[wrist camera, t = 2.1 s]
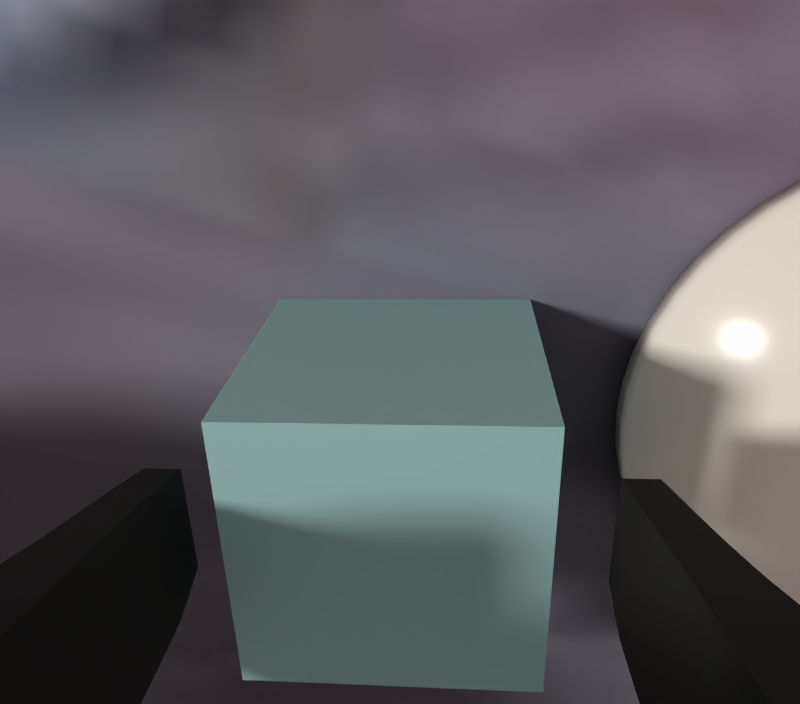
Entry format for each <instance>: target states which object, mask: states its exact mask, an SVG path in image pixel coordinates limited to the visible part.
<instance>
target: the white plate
mask: <svg viewBox="0 0 800 704" xmlns="http://www.w3.org/2000/svg"><path fill="white" fill-rule="evenodd" d="M615 444H616V452H617V460H618V469H619V473H620V476H621V478H628V479H661V480H662V481H663V482H664V483H666V484H667V485H668V486H669V487H670V488H671V489H672V490H673V491H674V492H675V493H676V494H677V495H678V496H679V497H680V498H681V499H682V500H683V501H684V502H685V503H686V504H687V505H688V506H689V507H690V508H691V509H692V510H693V511H694V512H695V513H697V514H698V515H699V516H700V517H701V518H702V519H703V520H704V521H705V522H706V523H707V524H708V525H709V526H710V527H711V528H712V529H713V530H714V531H715V532H716V533H717V534H719V535H720V536H721V537H722V538H723V539H724V540H725V541H726V542H727V543H728V544H729V545H730V546H731V547H733V548H734V549H735V550H736V551H737V552H738V553H739V554H740V555H741V556H742V557H744V558H745V559H746V560H747V561H748V562H749V563H750V564H751V565H753V566H754V567H755V568H756V569H757V570H758V571H760V572H761V573H762V574H763V575H764V576H765V577H767V578H768V579H769V580H770V581H771V582H772V583H774V584H775V585H776V586H777V587H779V588H780V589H781V590H782V591H783V592H785V593H786V594H787V595H788V596H790V597H791V598H792V599H793V600H795V601H796V602H797V603H798V604H799V605H800V181H798V182H796V183H795V184H793V185H791V186H790V187H788V188H786V189H784V190H783V191H781V192H779V193H778V194H776V195H774V196H772V197H771V198H769V199H767V200H766V201H764V202H762V203H761V204H759V205H758V206H757V207H755V208H754V209H753V210H751V211H750V212H748V213H747V214H746V215H744V216H743V217H742V218H740V219H739V220H738V221H736V222H735V223H734V224H732V225H731V226H730V227H728V228H727V229H726V230H725V231H724V232H722V233H721V234H720V235H719V236H718V237H717V238H716V239H715V240H714V241H713V242H712V243H711V244H709V245H708V246H707V247H706V248H705V249H704V250H703V251H702V252H701V253H700V254H699V255H698V256H697V257H695V259H694V260H693V261H692V262H691V263H690V264H689V266H688V267H687V268H686V269H685V270H684V271H683V273H682V274H681V275H680V276H679V277H678V278H677V280H676V281H675V282H674V283H673V284H672V285H671V287H670V288H669V289H668V291H667V292H666V294H665V295H664V297H663V298H662V300H661V301H660V303H659V304H658V306H657V307H656V309H655V310H654V312H653V313H652V315H651V316H650V318H649V319H648V321H647V323H646V325H645V327H644V329H643V331H642V333H641V335H640V337H639V339H638V341H637V343H636V345H635V347H634V349H633V352H632V355H631V357H630V360H629V363H628V366H627V369H626V372H625V375H624V378H623V381H622V385H621V391H620V396H619V401H618V407H617V412H616V436H615Z"/></svg>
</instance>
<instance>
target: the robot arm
mask: <svg viewBox="0 0 800 704" xmlns="http://www.w3.org/2000/svg"><path fill="white" fill-rule="evenodd" d="M197 568H198V563H197V558H196V552H195V547H194V541H193V536H192V530H191V525H190V519H189V514H188V509H187V503H186V498H185V492H184V487H183V481H182V476H181V470H180V469H143V470H142V471H140V472H138V473H137V474H135V475H133V476H132V477H130V478H129V479H127V480H126V481H124V482H123V483H121V484H120V485H118V486H117V487H115V488H114V489H112V490H111V491H109V492H108V493H106V494H105V495H104V496H102V497H101V498H99V499H98V500H96V501H95V502H93V503H92V504H91V505H89V506H88V507H86V508H85V509H83V510H82V511H80V512H79V513H77V514H76V515H75V516H73V517H72V518H70V519H69V520H67V521H66V522H64V523H63V524H61V525H60V526H58V527H57V528H56V529H54V530H53V531H51V532H50V533H48V534H47V535H45V536H44V537H42V538H41V539H39V540H38V541H36V542H35V543H33V544H31V545H30V546H28V547H27V548H25V549H23V550H22V551H20V552H19V553H17V554H16V555H14V556H12V557H11V558H9V559H8V560H6V561H4V562H3V563H1V564H0V704H141V702H142V700H143V698H144V696H145V694H146V692H147V690H148V688H149V686H150V684H151V682H152V680H153V677H154V675H155V673H156V671H157V669H158V667H159V665H160V663H161V661H162V659H163V657H164V655H165V652H166V650H167V648H168V646H169V644H170V642H171V640H172V638H173V636H174V633H175V631H176V629H177V627H178V625H179V623H180V620H181V617H182V614H183V611H184V608H185V606H186V603H187V600H188V597H189V594H190V590H191V587H192V584H193V581H194V578H195V574H196V571H197ZM609 582H610V588H611V594H612V599H613V605H614V611H615V616H616V622H617V627H618V632H619V637H620V641H621V644H622V648H623V651H624V654H625V658H626V661H627V664H628V667H629V671H630V674H631V677H632V680H633V684H634V687H635V690H636V693H637V696H638V700H639V703H640V704H800V605H799V604H798V603H797V602H796V601H795V600H793V599H792V598H791V597H790V596H788V595H787V594H786V593H785V592H783V591H782V590H781V589H780V588H779V587H777V586H776V585H775V584H774V583H772V582H771V581H770V580H769V579H768V578H767V577H765V576H764V575H763V574H762V573H761V572H760V571H758V570H757V569H756V568H755V567H754V566H753V565H751V564H750V563H749V562H748V561H747V560H746V559H745V558H744V557H742V556H741V555H740V554H739V553H738V552H737V551H736V550H735V549H734V548H733V547H731V546H730V545H729V544H728V543H727V542H726V541H725V540H724V539H723V538H722V537H721V536H720V535H719V534H717V533H716V532H715V531H714V530H713V529H712V528H711V527H710V526H709V525H708V524H707V523H706V522H705V521H704V520H703V519H702V518H701V517H700V516H699V515H698V514H697V513H695V512H694V511H693V510H692V509H691V508H690V507H689V506H688V505H687V504H686V503H685V502H684V501H683V500H682V499H681V498H680V497H679V496H678V495H677V494H676V493H675V492H674V491H673V490H672V489H671V488H670V487H669V486H668V485H667V484H666V483H664V482H663V481H662V480H661V479H628V478H621V485H620V493H619V501H618V510H617V518H616V526H615V534H614V543H613V551H612V559H611V567H610V575H609Z"/></svg>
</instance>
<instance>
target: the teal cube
mask: <svg viewBox="0 0 800 704" xmlns="http://www.w3.org/2000/svg"><path fill="white" fill-rule="evenodd" d="M201 425H202V431H203V437H204V443H205V450H206V456H207V462H208V468H209V474H210V481H211V487H212V493H213V499H214V505H215V511H216V518H217V524H218V530H219V536H220V542H221V549H222V555H223V561H224V567H225V573H226V579H227V586H228V592H229V598H230V604H231V610H232V617H233V623H234V629H235V635H236V641H237V647H238V654H239V660H240V666H241V672H242V678H243V680H259V681H282V682H306V683H330V684H353V685H377V686H400V687H424V688H448V689H471V690H495V691H519V692H542V693H543V688H544V676H545V664H546V651H547V639H548V627H549V615H550V603H551V590H552V578H553V566H554V554H555V541H556V529H557V517H558V505H559V493H560V480H561V468H562V456H563V444H564V431H565V426H564V422H563V419H562V415H561V411H560V407H559V404H558V400H557V396H556V393H555V389H554V385H553V382H552V378H551V374H550V371H549V367H548V363H547V360H546V356H545V352H544V348H543V345H542V341H541V337H540V334H539V330H538V326H537V323H536V319H535V315H534V312H533V308H532V304H531V300H530V299H280V300H279V301H278V303H277V305H276V306H275V308H274V309H273V311H272V312H271V314H270V315H269V317H268V319H267V320H266V322H265V323H264V325H263V326H262V328H261V329H260V331H259V333H258V334H257V336H256V337H255V339H254V340H253V342H252V343H251V345H250V347H249V348H248V350H247V351H246V353H245V354H244V356H243V357H242V359H241V361H240V362H239V364H238V365H237V367H236V368H235V370H234V371H233V373H232V375H231V376H230V378H229V379H228V381H227V382H226V384H225V385H224V387H223V389H222V390H221V392H220V393H219V395H218V396H217V398H216V399H215V401H214V403H213V404H212V406H211V407H210V409H209V410H208V412H207V413H206V415H205V416H204V418H203V420H202V421H201Z"/></svg>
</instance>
